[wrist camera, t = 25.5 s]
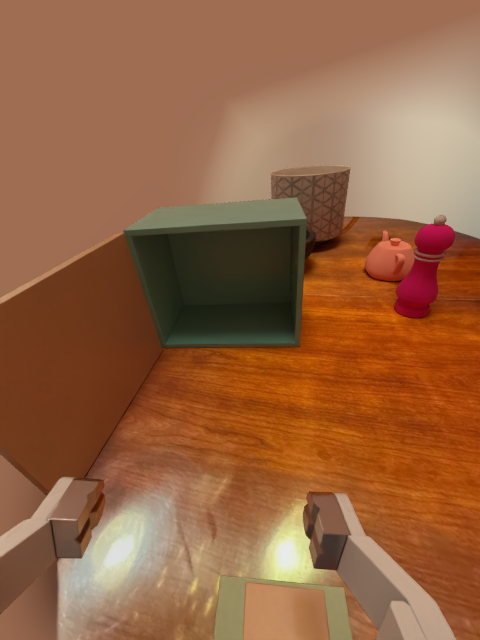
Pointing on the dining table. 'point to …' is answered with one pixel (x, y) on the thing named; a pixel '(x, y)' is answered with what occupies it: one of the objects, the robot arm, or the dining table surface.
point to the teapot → (390, 259)
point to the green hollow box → (223, 272)
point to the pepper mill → (424, 269)
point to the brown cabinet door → (72, 361)
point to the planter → (316, 196)
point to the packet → (284, 613)
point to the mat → (233, 588)
